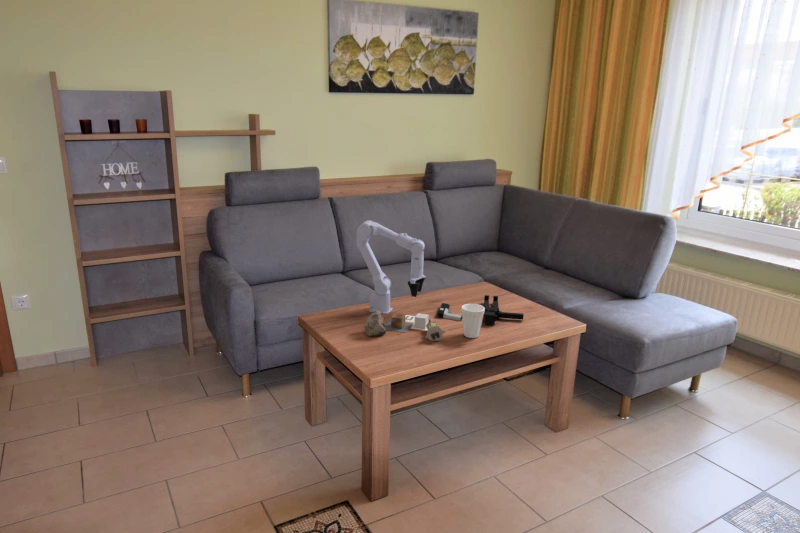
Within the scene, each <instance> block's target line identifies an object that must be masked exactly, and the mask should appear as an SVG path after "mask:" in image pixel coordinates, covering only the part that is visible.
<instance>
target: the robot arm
mask: <svg viewBox="0 0 800 533" xmlns="http://www.w3.org/2000/svg"><path fill="white" fill-rule="evenodd" d="M355 233H356V246H357V249H358V250H359V252H360V254H361V256H362V258H363V260H364V262H365V264H366V266H367V268H368V270H369V272H370V274H371V277H372V284H373V286H374V291H372V292H371V293H370V296H369V312H371V313H374V311H375V310H378V311H380V313H381V314H384V315H388V314H390V312H391V311H393V307H391V290H390V289H391V286H392V280H391V279H390V278H389V277H388V276H387V275H386V273H384V272H383V270H382V268H381V266H380V264H379V262H378V260H377V258H376V256H375V253H374V252H373V250H372V248H371V246H370V244H369V240H370V239H371V236H377V235H380V236H383V237H385V238H388V239H390V240H393V241H395V242H396V245H398V246H400V247H402V248H404V249H407V250H408V251H410V252H411V259H410V275H409V276H410V280H409V281H407V286H409V290H410V296H411V297H414V298H417V296H418V293H421V292H422V289H423V285H424V282H425V280H426V275H424V263H425V262H424V261H425V260H424V258H425V256H424V252H425V251H424V250H425V248H426V247H425V246H426V244H425V242H424V241H423V240H422V239H421V238H420V239H419V238H418V239H417V238H416V237H411V236H410V235H408V233H406V232H405V233H403V232H401V233H397V232H395V231H394V230H392V229H389V228H387V227H386V226H384V225H382V224H380V223H378V222H377V221H373V220H371V219H367V220H365V221H363V223H361V224H360V225H359V226H358V227H357V230H356V232H355Z"/></svg>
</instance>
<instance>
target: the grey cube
mask: <svg viewBox="0 0 800 533" xmlns="http://www.w3.org/2000/svg"><path fill="white" fill-rule="evenodd" d="M414 316H415V325H414V328H421V329H426V325H427V324H428V323H429V320H428V318H430V315H429V314H426V313H419V312H418V313H417V314H416V315H414Z"/></svg>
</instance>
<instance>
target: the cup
mask: <svg viewBox="0 0 800 533" xmlns="http://www.w3.org/2000/svg"><path fill="white" fill-rule="evenodd" d="M460 309H461V314H462V315H461V316H462V317H463V318H462V325H463V326H462V328H463V335H464V336H465V337H466V338H469V339H476V338H478V337H479V336H480V331H481V327H482V324H483V319H484V317H483V315H484V311H485V308H484V305H481V304H477V303H465V304H463V305H462V306H461V308H460Z"/></svg>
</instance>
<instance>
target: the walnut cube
mask: <svg viewBox="0 0 800 533" xmlns="http://www.w3.org/2000/svg"><path fill="white" fill-rule="evenodd" d="M405 315H406V314H402V313H396V312H395V313H393V315H391V328H397V329H402V328H403V327H404V326H405V323H406V322H405Z"/></svg>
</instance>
